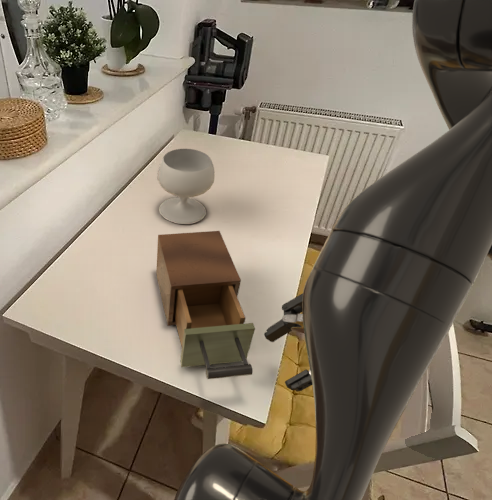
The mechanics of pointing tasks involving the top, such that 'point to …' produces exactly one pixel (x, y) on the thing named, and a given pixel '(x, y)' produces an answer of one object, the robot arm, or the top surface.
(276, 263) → the top surface
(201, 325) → the drawer
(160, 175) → the chalice
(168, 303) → the cabinet
